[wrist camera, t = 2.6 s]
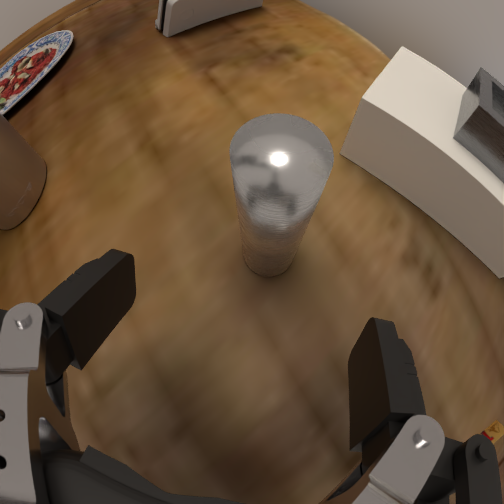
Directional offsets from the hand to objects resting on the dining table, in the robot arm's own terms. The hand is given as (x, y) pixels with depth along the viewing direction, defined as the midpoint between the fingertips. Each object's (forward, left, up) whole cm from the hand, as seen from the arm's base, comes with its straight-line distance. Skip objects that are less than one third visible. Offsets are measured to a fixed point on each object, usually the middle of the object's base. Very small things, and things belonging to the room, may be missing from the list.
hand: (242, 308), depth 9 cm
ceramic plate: (-56, +6, -11) cm, 57 cm away
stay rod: (-2, +5, -11) cm, 12 cm away
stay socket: (+9, +22, -4) cm, 24 cm away
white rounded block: (-29, +31, -11) cm, 44 cm away
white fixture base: (+8, +22, -11) cm, 26 cm away
